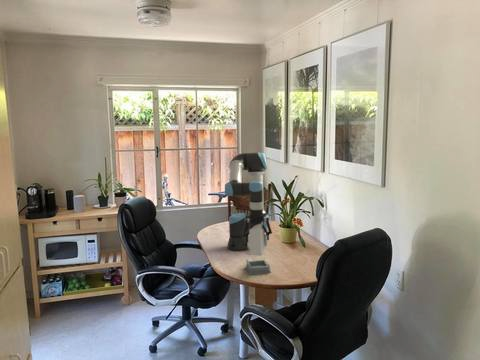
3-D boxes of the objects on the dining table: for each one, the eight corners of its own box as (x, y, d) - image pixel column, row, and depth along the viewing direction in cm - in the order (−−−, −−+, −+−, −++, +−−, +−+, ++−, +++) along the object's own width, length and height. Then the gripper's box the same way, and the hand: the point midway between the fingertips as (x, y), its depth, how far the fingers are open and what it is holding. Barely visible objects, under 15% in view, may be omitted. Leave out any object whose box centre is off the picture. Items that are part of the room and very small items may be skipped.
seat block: (245, 266, 228) (245, 258, 227) (265, 264, 230) (265, 257, 229) (250, 274, 216) (249, 266, 215) (270, 272, 218) (270, 264, 218)
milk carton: (261, 256, 217) (260, 223, 214) (249, 254, 219) (248, 222, 217) (265, 252, 223) (264, 220, 220) (253, 250, 226) (252, 219, 223)
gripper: (238, 211, 212) (239, 250, 215) (277, 208, 216) (277, 246, 219) (235, 208, 219) (237, 246, 222) (273, 205, 223) (274, 242, 226)
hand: (257, 246), depth 221 cm, fingers closed on milk carton, 10 cm apart
